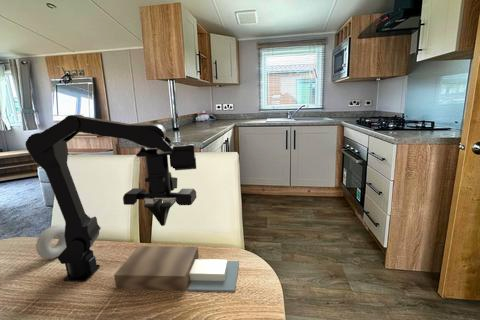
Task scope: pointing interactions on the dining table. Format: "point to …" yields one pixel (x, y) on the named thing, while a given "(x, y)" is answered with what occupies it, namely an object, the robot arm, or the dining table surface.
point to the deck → (157, 268)
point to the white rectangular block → (209, 270)
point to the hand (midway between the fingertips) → (163, 225)
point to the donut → (45, 240)
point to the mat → (218, 285)
